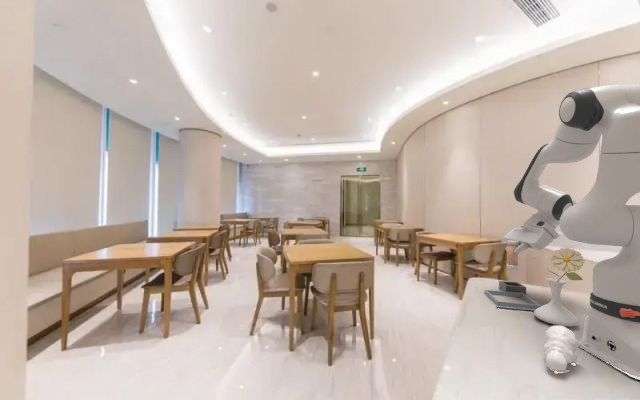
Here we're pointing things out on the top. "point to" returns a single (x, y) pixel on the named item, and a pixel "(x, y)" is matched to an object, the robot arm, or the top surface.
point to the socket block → (512, 287)
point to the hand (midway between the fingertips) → (510, 251)
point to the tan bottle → (512, 254)
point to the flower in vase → (554, 309)
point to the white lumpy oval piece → (560, 348)
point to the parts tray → (511, 304)
